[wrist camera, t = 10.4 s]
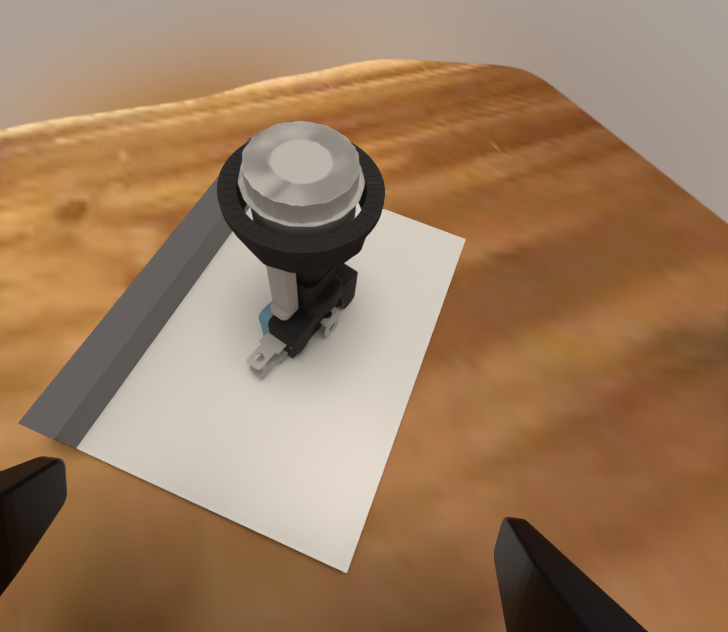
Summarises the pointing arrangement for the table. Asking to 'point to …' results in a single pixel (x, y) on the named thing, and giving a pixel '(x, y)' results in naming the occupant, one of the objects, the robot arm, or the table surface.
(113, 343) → the marker board
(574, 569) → the robot arm
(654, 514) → the table surface
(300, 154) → the push button
